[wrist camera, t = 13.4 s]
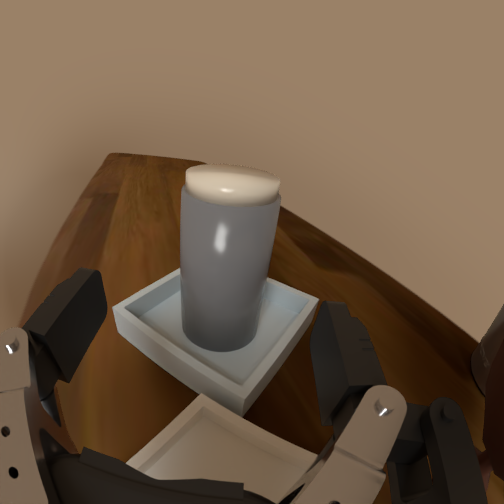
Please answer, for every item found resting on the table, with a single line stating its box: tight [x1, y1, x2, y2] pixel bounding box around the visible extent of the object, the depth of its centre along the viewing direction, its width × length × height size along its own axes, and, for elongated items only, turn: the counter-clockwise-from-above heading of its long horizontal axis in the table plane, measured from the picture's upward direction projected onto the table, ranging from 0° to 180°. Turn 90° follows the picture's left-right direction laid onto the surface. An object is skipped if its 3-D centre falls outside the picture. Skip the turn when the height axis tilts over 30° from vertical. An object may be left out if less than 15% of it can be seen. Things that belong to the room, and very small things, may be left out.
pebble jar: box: [180, 164, 281, 352], centre depth 18 cm, size 6×6×11 cm
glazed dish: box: [112, 268, 319, 417], centre depth 20 cm, size 11×11×2 cm
